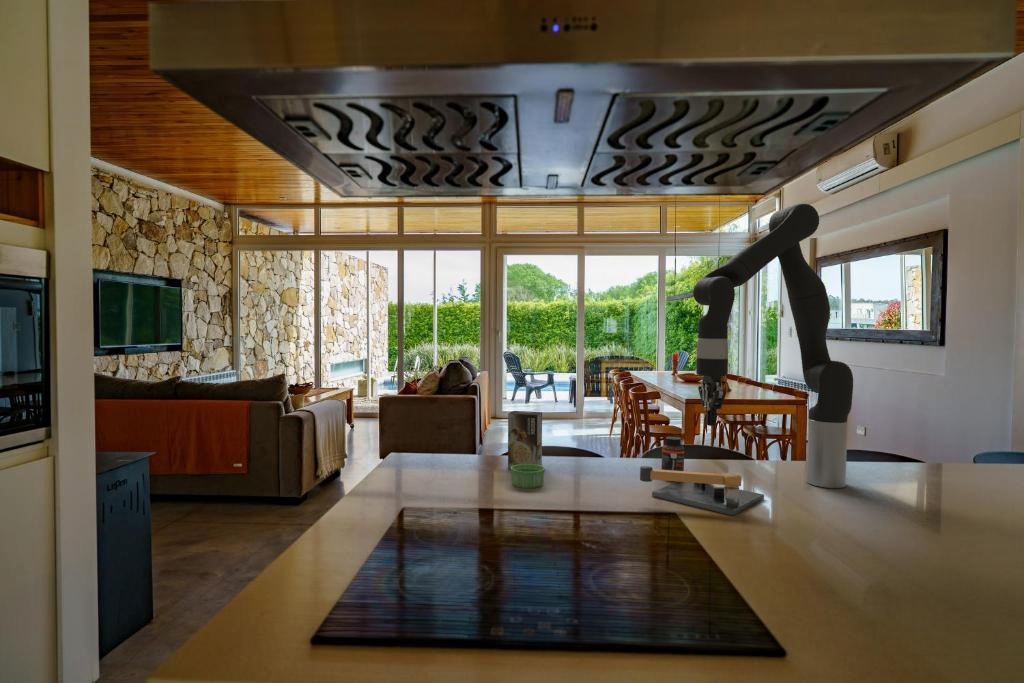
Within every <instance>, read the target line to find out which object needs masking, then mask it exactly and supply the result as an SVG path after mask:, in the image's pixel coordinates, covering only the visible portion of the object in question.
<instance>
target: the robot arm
mask: <svg viewBox="0 0 1024 683" xmlns="http://www.w3.org/2000/svg"><path fill="white" fill-rule="evenodd" d="M819 225H820V215H819V213H818V210H816V208H815V206H813V205H811V204H809V203H797V204H794V205H792V206H791V205H790V206H788V207H785V208H782V209H778V210H777V211H775V212H773V213H772V214H771V216H770V218H769V220H768V230H769V232H768V234H766V235H764V236H763V237H761V238H759V239H757V240H756V241H754V242H752V243H750V244H749V245H748V246H746V247H744V248H743V249H741V250H740V251H738V252H737V253H736V254H735V255H734V256H732V257H731V258H730V259H729V260H728V261H726V262H725V263H724V264H723V265H721V266H720V267H717V268H716V269H714V270H712V271H710V272H709V273H707V274H706V275H704V276H703V277H701V278H700V279H699V280H698V281H697V282H696V283H695V284H694V287H693V290H692V294H693V296H692V297H693V299H694V300H695V302H696V303H697V304H699V305H701V306H705V307H706V306H707V308H708V309H707V312H706V314H704V315H702V316H700V317H699V319H698V324H697V325H698V326H697V345H696V365H695V366H696V367H695V368H696V370H695V373H696V375H697V376H701V377H702V380H701V385H699V386H698V388H697V390H698V394H699V397H700V404H701V406H702V407H703V408H704V410H705V424H706V425H707V426H709V427H715V426H717V418H718V417H717V412H718V411H719V410H721V409H722V407H723V405H724V401H725V398H726V395H727V391H726V390H723V383H722V377H727V376H728V375H729V344H728V343H729V342H728V331H729V329H728V328H729V327H728V325H729V324H728V322H729V319H730V316H731V314H732V310H733V306H734V302H735V298H736V290H735V288H737V287H741V286H742V285H744V284H746V283H747V282H748V281H749V280H751V279H752V278H753V277H754V276H756V275H757V273H759V272H760V271H762V269H764V268H765V267H766V266H768V264H770V263H771V262H773V260H775V259H776V258H777V259H778V261H779V265H780V267H781V272H782V276H783V279H784V284H785V287H786V292H787V296H788V301H789V302H788V303H789V307H790V311H791V313H792V318H793V322H794V325H795V327H794V328H795V331H796V337H797V339H798V344H799V345H798V346H799V349H800V359H801V368H802V369H801V370H802V375H803V380H804V382H805V385H806V386H807V388H808V389H809V390H811V391H812V392H814V393H817V401H816V403H815V405H814V406H811V407H810V408H809V409H808V415H807V418H808V420H807V425H808V426H807V453H806V454H807V455H806V456H807V457H806V458H807V459H806V483H808V484H810V485H813V486H816V487H821V488H827V489H842V488H845V487H846V481H847V480H846V479H847V478H846V477H847V475H846V474H847V449H848V446H847V444H848V441H847V440H848V417H849V414H850V412H851V410H852V404H853V396H854V395H853V394H854V375H853V372H852V369H851V368H850V366H849V365H848V364H847V363H845V362H843V361H839V360H831V357H830V354H829V349H828V344H827V331H828V328H829V326H828V325H829V323H830V316H831V304H830V301H829V296H828V292H827V288H826V285H825V283H824V282H823V280H822V279H821V277H820V276H819V275H818V273H817V272H816V271H815V270H813V268H812V267H811V265H810V264H809V263H808V262H807V261H806V259H805V257H804V254H803V252H802V249H801V244H800V242H801V241H803V240H806V239H808V238H809V237H811V236H813V235H814V234H815V233H816V231H817V230H818V228H819Z"/></svg>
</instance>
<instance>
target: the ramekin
mask: <svg viewBox="0 0 1024 683" xmlns="http://www.w3.org/2000/svg"><path fill="white" fill-rule="evenodd" d="M545 471H546V467H545V466H543V465H542V466H541V465H536V464H518V465H513V466H511V469H510V472H511V484H512V485H514V487H518V488H523V489H533V488H540V487H542V486H543V485H544V478H545Z"/></svg>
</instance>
